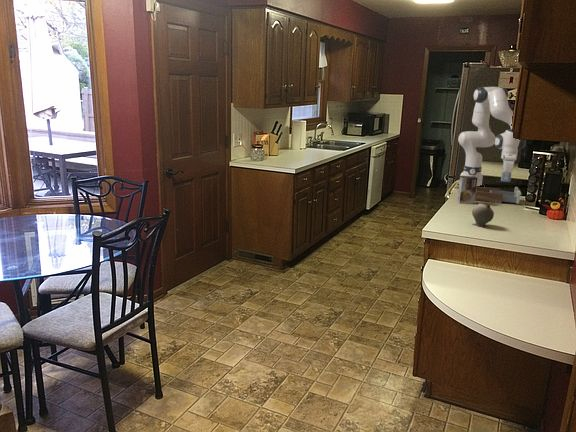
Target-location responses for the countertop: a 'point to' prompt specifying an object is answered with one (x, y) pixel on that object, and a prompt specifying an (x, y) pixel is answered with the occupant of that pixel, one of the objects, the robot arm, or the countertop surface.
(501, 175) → the block
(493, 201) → the box
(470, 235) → the countertop surface
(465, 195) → the coffee box
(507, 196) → the tray
